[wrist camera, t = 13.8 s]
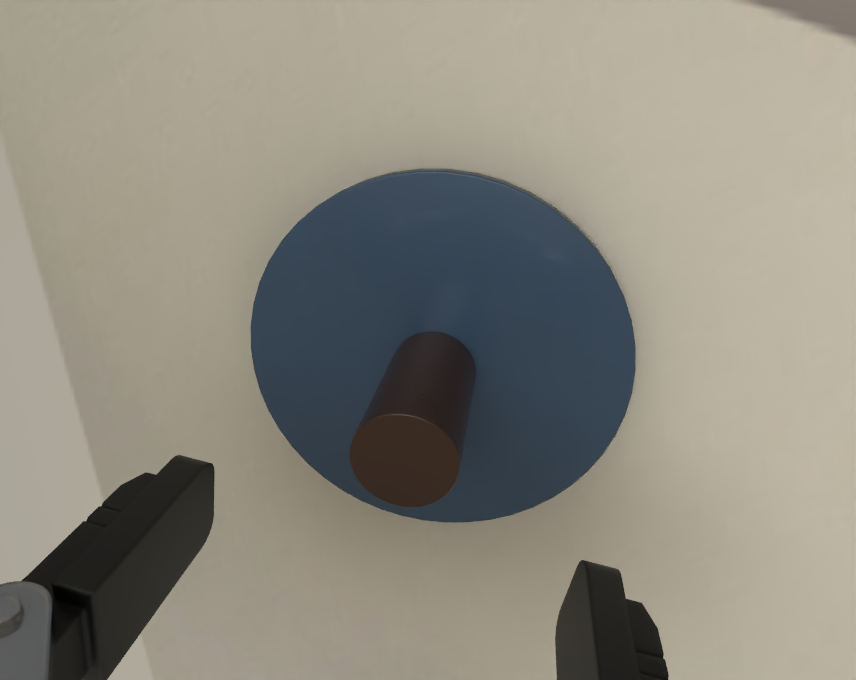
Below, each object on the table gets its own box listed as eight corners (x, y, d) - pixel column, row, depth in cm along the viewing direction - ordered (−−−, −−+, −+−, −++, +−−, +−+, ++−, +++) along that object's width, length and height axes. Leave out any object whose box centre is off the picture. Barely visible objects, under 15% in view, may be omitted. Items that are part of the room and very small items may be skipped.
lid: (254, 458, 24) (165, 579, 18) (276, 126, 19) (156, 144, 13) (566, 537, 24) (581, 693, 17) (690, 215, 18) (776, 280, 12)
